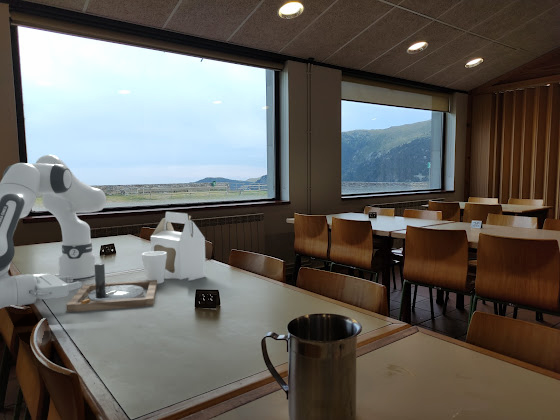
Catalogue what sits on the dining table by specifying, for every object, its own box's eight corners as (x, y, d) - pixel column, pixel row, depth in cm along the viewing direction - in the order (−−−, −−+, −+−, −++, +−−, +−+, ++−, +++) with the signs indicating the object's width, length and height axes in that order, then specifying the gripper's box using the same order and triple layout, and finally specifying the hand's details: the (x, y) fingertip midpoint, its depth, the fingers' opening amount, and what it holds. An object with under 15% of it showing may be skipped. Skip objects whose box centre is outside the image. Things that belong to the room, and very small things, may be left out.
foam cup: (160, 288, 160) (159, 255, 159) (138, 287, 162) (137, 255, 161) (171, 282, 169) (170, 251, 168) (150, 281, 171) (149, 250, 170)
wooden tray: (84, 293, 154) (84, 282, 153) (157, 288, 160) (156, 277, 159) (66, 316, 128) (65, 302, 128) (153, 309, 135) (153, 296, 134)
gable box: (206, 277, 179) (205, 212, 176) (180, 283, 169) (179, 215, 167) (176, 269, 193) (174, 210, 191) (151, 274, 183) (149, 212, 181)
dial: (116, 288, 156) (114, 254, 155) (154, 293, 149) (153, 257, 148) (76, 301, 139) (74, 263, 138) (117, 307, 132) (115, 267, 131)
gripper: (33, 285, 114) (86, 277, 123) (19, 273, 130) (67, 267, 139) (34, 307, 115) (87, 298, 124) (20, 293, 130) (68, 285, 139)
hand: (76, 281), depth 131 cm, fingers open, 8 cm apart
